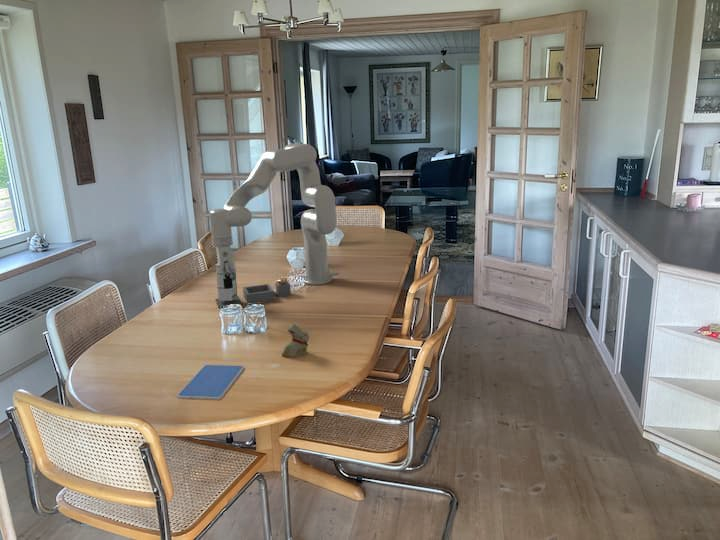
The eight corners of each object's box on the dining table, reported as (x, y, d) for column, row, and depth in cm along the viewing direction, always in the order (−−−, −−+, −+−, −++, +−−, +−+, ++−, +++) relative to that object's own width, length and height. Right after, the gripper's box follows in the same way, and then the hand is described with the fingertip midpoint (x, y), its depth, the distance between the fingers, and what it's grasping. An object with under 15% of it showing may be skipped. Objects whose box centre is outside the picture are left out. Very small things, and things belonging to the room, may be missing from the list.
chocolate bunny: (306, 358, 172) (303, 327, 169) (280, 357, 173) (278, 326, 170) (310, 350, 177) (308, 320, 174) (286, 350, 178) (284, 319, 176)
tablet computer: (220, 401, 149) (220, 397, 148) (175, 400, 150) (174, 395, 150) (245, 369, 167) (245, 365, 167) (204, 368, 169) (204, 364, 168)
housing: (286, 290, 238) (285, 279, 237) (292, 297, 228) (291, 286, 227) (243, 296, 232) (242, 284, 231) (247, 304, 223) (246, 292, 221)
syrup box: (231, 301, 222) (229, 264, 218) (217, 300, 223) (215, 264, 219) (237, 296, 227) (235, 261, 224) (223, 296, 228) (221, 260, 225)
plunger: (287, 291, 235) (286, 277, 233) (289, 294, 231) (288, 280, 229) (277, 292, 233) (276, 278, 232) (279, 295, 230) (278, 281, 228)
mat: (238, 297, 232) (238, 295, 232) (242, 305, 222) (242, 303, 222) (215, 300, 229) (215, 298, 229) (218, 308, 219) (218, 307, 219)
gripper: (235, 244, 212) (240, 290, 217) (229, 236, 228) (234, 278, 233) (214, 247, 210) (220, 292, 215) (210, 238, 226) (215, 280, 230)
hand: (227, 285), depth 224 cm, fingers closed on syrup box, 7 cm apart
